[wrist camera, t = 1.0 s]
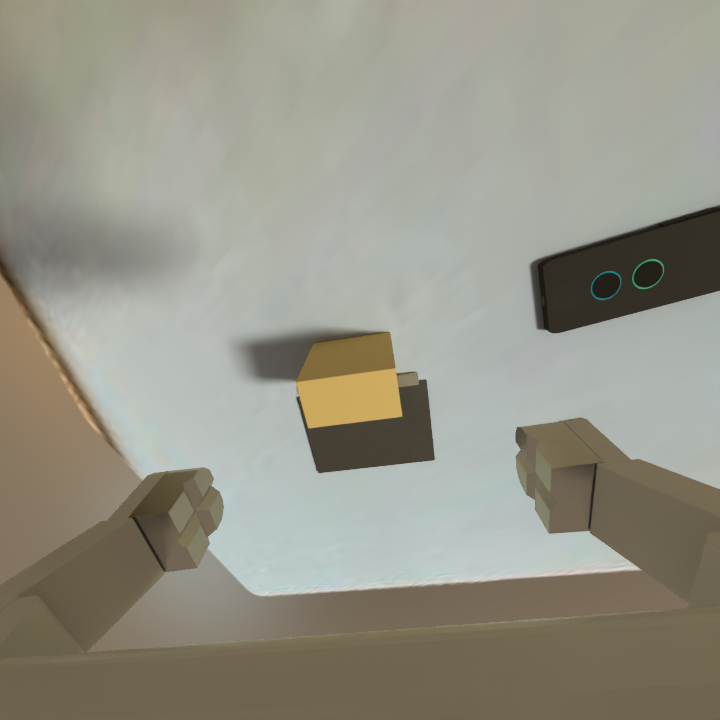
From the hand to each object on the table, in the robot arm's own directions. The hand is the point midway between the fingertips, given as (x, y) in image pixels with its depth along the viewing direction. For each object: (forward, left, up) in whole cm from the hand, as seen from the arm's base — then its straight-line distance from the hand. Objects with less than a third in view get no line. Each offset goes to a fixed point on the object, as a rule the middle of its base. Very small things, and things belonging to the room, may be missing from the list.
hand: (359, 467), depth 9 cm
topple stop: (+18, -3, -30) cm, 35 cm away
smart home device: (+4, +28, -30) cm, 41 cm away
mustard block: (+9, -3, -30) cm, 31 cm away
